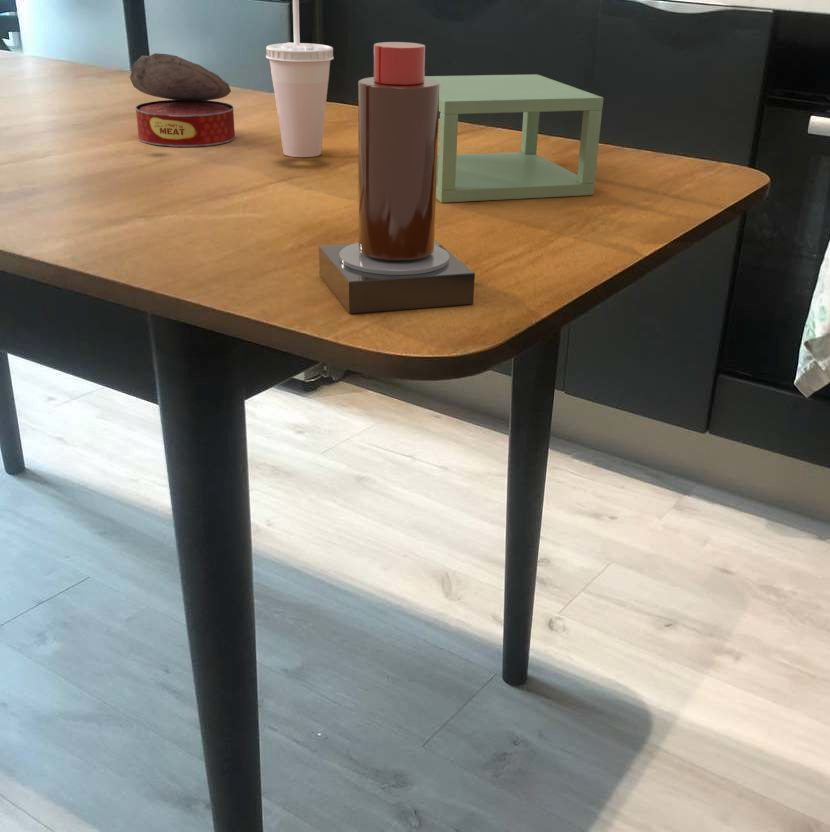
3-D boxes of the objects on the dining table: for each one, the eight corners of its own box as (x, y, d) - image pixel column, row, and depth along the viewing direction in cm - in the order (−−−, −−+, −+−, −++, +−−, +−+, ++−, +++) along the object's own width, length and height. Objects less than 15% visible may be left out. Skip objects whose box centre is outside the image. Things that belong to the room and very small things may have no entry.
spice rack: (441, 202, 90) (444, 101, 86) (393, 167, 102) (394, 76, 98) (593, 195, 94) (603, 97, 90) (530, 162, 106) (537, 74, 102)
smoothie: (315, 144, 110) (312, -8, 104) (346, 156, 106) (346, -3, 99) (258, 150, 107) (251, -7, 100) (288, 162, 103) (283, -1, 96)
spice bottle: (369, 263, 66) (370, 50, 60) (350, 242, 70) (349, 40, 64) (444, 258, 67) (452, 49, 62) (420, 237, 71) (426, 39, 65)
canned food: (140, 184, 113) (97, 90, 111) (216, 161, 119) (177, 71, 117) (189, 147, 104) (143, 44, 102) (269, 124, 110) (227, 26, 108)
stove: (349, 314, 65) (349, 273, 64) (319, 275, 72) (318, 238, 71) (473, 304, 68) (475, 264, 66) (433, 267, 74) (434, 231, 73)
